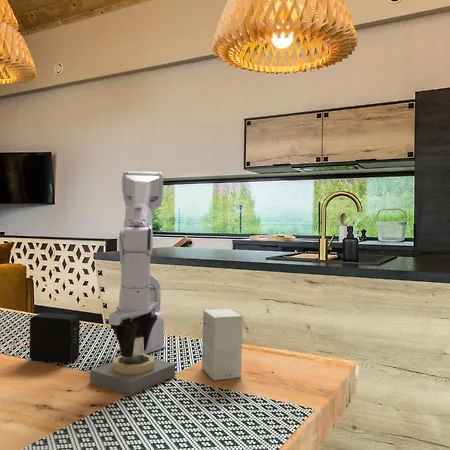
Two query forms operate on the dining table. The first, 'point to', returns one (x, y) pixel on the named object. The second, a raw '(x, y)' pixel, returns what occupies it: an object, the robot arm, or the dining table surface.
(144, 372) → the grey square plate
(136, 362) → the shiny metal cylinder
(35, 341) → the electronic device
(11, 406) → the dining table surface
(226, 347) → the small box
